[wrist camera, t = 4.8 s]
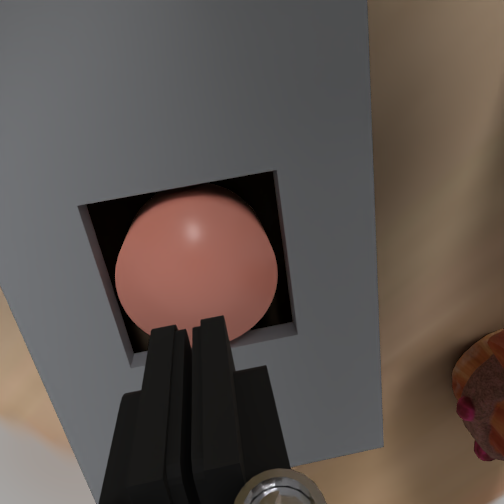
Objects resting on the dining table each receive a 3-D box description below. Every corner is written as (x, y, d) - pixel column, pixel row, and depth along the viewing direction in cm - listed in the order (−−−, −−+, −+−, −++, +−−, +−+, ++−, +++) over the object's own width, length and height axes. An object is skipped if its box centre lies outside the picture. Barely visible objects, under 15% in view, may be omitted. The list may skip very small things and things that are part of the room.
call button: (109, 196, 17) (93, 219, 15) (254, 170, 18) (266, 188, 15) (146, 320, 20) (138, 361, 17) (273, 295, 20) (286, 331, 17)
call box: (-33, -1, 17) (-141, -36, 11) (310, -53, 18) (363, -109, 12) (119, 416, 26) (98, 509, 20) (344, 369, 27) (383, 446, 21)
